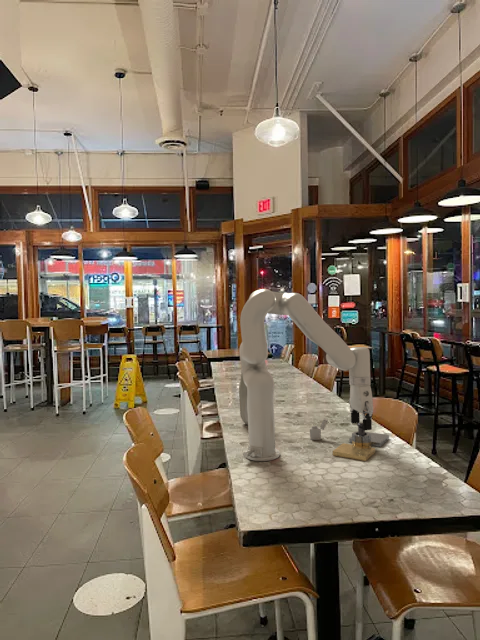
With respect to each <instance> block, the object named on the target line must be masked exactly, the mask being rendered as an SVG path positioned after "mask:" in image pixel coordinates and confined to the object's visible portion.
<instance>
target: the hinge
mask: <svg viewBox="0 0 480 640" xmlns="http://www.w3.org/2000/svg"><path fill="white" fill-rule="evenodd" d="M348 439H349V441H348V443H341V444H339V446H337V447H336V448H335V449H333V450H332V456H333V457H334V456H335V457H340V458H346V459H352V460H357V461H363V462H367V461H368V460H369V459H370V458H371V457H372V456H373V455H374V454H375V453H376V448H375V447H378V448H381V447H382V446H384V445H385V444H386V443H387V441H389V439H390V434H386V433H385V434H384V433H376V432H368V431H365V435H363V436H361V435H358V431H354V432H352V433H351V436H350V437H349V438H348Z"/></svg>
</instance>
